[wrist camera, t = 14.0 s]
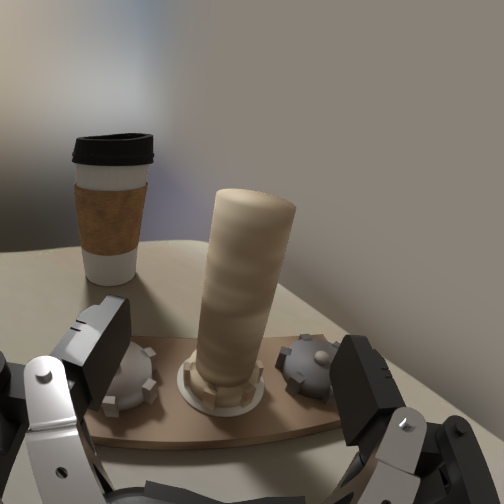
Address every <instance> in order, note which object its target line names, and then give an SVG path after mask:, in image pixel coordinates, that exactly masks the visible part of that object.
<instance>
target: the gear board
mask: <svg viewBox="0 0 504 504" xmlns="http://www.w3.org/2000/svg"><path fill="white" fill-rule="evenodd" d="M197 341H198V338H164V337H144V336H131V341H130V344H129V347H128V349H127V351H126V353H125V355H124V357H123V359H122V361H121V363H120V365H119V367H118V370H117V372H116V374H115V376H114V378H113V380H112V382H111V384H110V386H109V389H108V391H107V393H106V395H105V397H104V399H103V402H102V404H101V406H100V408H99V411H98V412H95V411H93V410H90V409H87V411H86V413H85V415H84V418H85V421H86V424H87V427H88V430H89V433H90V436H91V438H92V441H93V444H96V445H103V446H111V447H121V448H133V449H151V450H197V449H216V448H228V447H238V446H247V445H255V444H262V443H269V442H275V441H281V440H286V439H291V438H296V437H301V436H306V435H310V434H315V433H319V432H323V431H327V430H331V429H334V428H338V427H342V425H341V421H340V417H339V412H338V408H337V404H336V400H335V397H334V393H333V389H332V385H331V381H330V376H329V371H330V366H331V363H332V361H333V359H334V357H335V355H336V353H337V350H338V348H339V346H340V343H338V342H337V341H336V342H335V343H334V344H332V343H330V342H328V341H327V340H326V338H325V337H324V335H323V334H320V335H309V334H302V335H300V336H291V337H271V338H262V342H261V345H260V349H259V352H258V356H257V359H256V360H261V361H262V364H263V367H264V369H263V372H262V375H261V378H260V381H259V383H256V385H255V387H256V391H255V394H254V397H253V400H252V403H251V404H249V405H248V406H246V407H245V408H242V407H241V406H240V405H238V406H235V407H229V408H221V407H214V409H213V410H211V409H208V408H205V407H203V406H202V401H201V400H199V399H198V398H197V397H196V396H195V395H194V394H193V393H192V391H191V389H190V387H189V386H184V382H183V367H184V362H189V359H190V357H191V355H192V353H193V352H194V351H195V350H196V344H197Z"/></svg>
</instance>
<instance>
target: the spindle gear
mask: <svg viewBox="0 0 504 504" xmlns="http://www.w3.org/2000/svg"><path fill="white" fill-rule="evenodd" d="M295 210H296V206H295V205H294V204H293V203H291V202H289V201H287V200H285V199H282V198H280V197H277V196H273V195H270V194H266V193H262V192H257V191H252V190H244V189H222V190H219V191H217V193H216V199H215V206H214V212H213V219H212V226H211V233H210V240H209V247H208V255H207V262H206V270H205V278H204V286H203V294H202V303H201V312H200V321H199V331H198V341H197V344H196V350H195V351H194V352H193V353H192V355H191V357H190V359H189V362H184V367H183V382H184V386H189V387H190V389H191V391H192V393H193V394H194V395H195V396H196V397H197V398H198V399H199V400H201V401H202V406H203V407H205V408H208V409H211V410H213V409H214V407H221V408H229V407H235V406H238V405H240V406H241V407H242V408H245V407H246V406H248V405H249V404H251V403H252V400H253V397H254V394H255V391H256V387H255V385H256V383H259V381H260V378H261V375H262V372H263V369H264V367H263V364H262V361H261V360H256V359H257V356H258V352H259V349H260V345H261V342H262V338H263V335H264V331H265V327H266V324H267V320H268V317H269V313H270V309H271V305H272V302H273V298H274V294H275V290H276V287H277V283H278V279H279V275H280V271H281V267H282V263H283V259H284V255H285V251H286V247H287V243H288V240H289V235H290V231H291V227H292V223H293V219H294V215H295Z"/></svg>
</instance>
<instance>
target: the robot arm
mask: <svg viewBox="0 0 504 504" xmlns="http://www.w3.org/2000/svg"><path fill="white" fill-rule="evenodd" d="M130 341H131V319H130V303H129V300H128V299H126V298H122V297H118V296H114V295H110V294H109V295H107V296H106V298H105V299H104V300H103V302H102V303H101V304H100V306H98V305H95V304H94V305H92V306H91V307H89V308H87V309H86V310H84V311H83V312H82V313H81V314H80V316H79V317H78V318H77V319H76V322H74V323H73V325H72V326H71V328H70V329H69V330H68V331H67V332H66V334H65V335H64V336H63V338H62V339H61V340H60V342H59V343H58V344H57V346H56V347H55V348H54V350H53V351H52V353H51V354H50V355H49V356H40V357H36V358H34V359H32V360H31V361H30V362H29V363H28V364H27V365H22V364H15V363H9V362H6V359H5V357H4V355H3V353H2V352H1V351H0V504H3V502H2V500H1V499H2V496H3V493H4V489H5V486H6V483H7V480H8V477H9V475H10V472H11V469H12V466H13V464H14V461H15V459H16V456H17V454H18V451H19V449H20V446H21V444H22V441H23V439H24V437H25V439H26V445H27V449H28V454H29V458H30V462H31V466H32V470H33V474H34V477H35V481H36V484H37V487H38V490H39V494H40V497H41V499H42V502H43V504H305V496H301V497H265V498H260V499H254V500H248V501H241V502H234V503H223V502H220V501H217V500H214V499H211V498H208V497H205V496H202V495H200V494H197V493H194V492H192V491H189V490H187V489H183V488H178V487H173V486H168V485H164V484H159V483H155V482H151V481H147V480H146V484H145V487H130V488H123V489H119V490H115V489H114V487H113V485H112V483H111V481H110V479H109V477H108V475H107V473H106V471H105V469H104V468H103V466H102V463H101V461H100V459H99V456H98V454H97V452H96V449H95V446H94V444H93V441H92V438H91V436H90V433H89V430H88V427H87V424H86V421H85V418H84V415H85V413H86V411H87V409H90V410H93V411H95V412H98V411H99V408H100V406H101V404H102V402H103V399H104V397H105V395H106V393H107V391H108V389H109V386H110V384H111V382H112V380H113V378H114V376H115V374H116V372H117V370H118V367H119V365H120V363H121V361H122V359H123V357H124V355H125V353H126V351H127V349H128V347H129V344H130ZM388 369H389V368H388V366H387V364H386V362H385V360H384V358H383V357H382V356H381V355H380V354H379V353H378V352H377V351H376V350H375V349H372V347H371V345H370V343H369V341H368V339H367V338H366V336H360V335H345V336H344V338H343V340H342V342H341V344H340V346H339V348H338V350H337V353H336V355H335V357H334V359H333V361H332V363H331V366H330V371H329V376H330V381H331V385H332V389H333V393H334V397H335V400H336V404H337V408H338V412H339V417H340V421H341V425H342V429H343V433H344V437H345V442H346V446H357V445H358V447H359V451H358V452H357V453H356V455H355V457H354V458H353V460H352V462H351V464H350V465H349V467H348V469H347V470H346V472H345V474H344V475H343V477H342V479H341V480H340V482H339V483H338V485H337V487H336V488H335V490H334V491H333V492H332V493H331V495H330V496H329V497H328V498H327V499H326V500H325V501H324V502H323V503H322V504H500V501H499V498H498V494H497V491H496V488H495V485H494V482H493V479H492V477H491V474H490V471H489V468H488V466H487V463H486V461H485V458H484V456H483V453H482V451H481V448H480V446H479V444H478V441H477V439H476V437H475V434H474V432H473V430H472V428H471V426H470V424H469V423H468V422H467V420H465V419H464V418H462V417H460V416H457V415H453V416H450V417H449V418H447V420H446V421H445V422H444V423H443V424H436V423H429V422H426V421H425V419H424V417H423V416H422V414H421V413H420V412H418V411H417V410H415V409H413V408H410V407H406V405H405V403H404V400H403V398H402V396H401V394H400V392H399V389H398V387H397V385H396V383H395V381H394V378H392V374H391V372H390V370H388ZM29 426H30V430H28V428H29ZM443 464H446V467H447V471H448V474H449V477H450V480H451V484H452V488H451V491H450V493H449V494H448V495H446V491H445V488H444V484H443V481H442V478H441V474H440V471H439V468H440V467H441V466H442V465H443Z"/></svg>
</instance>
